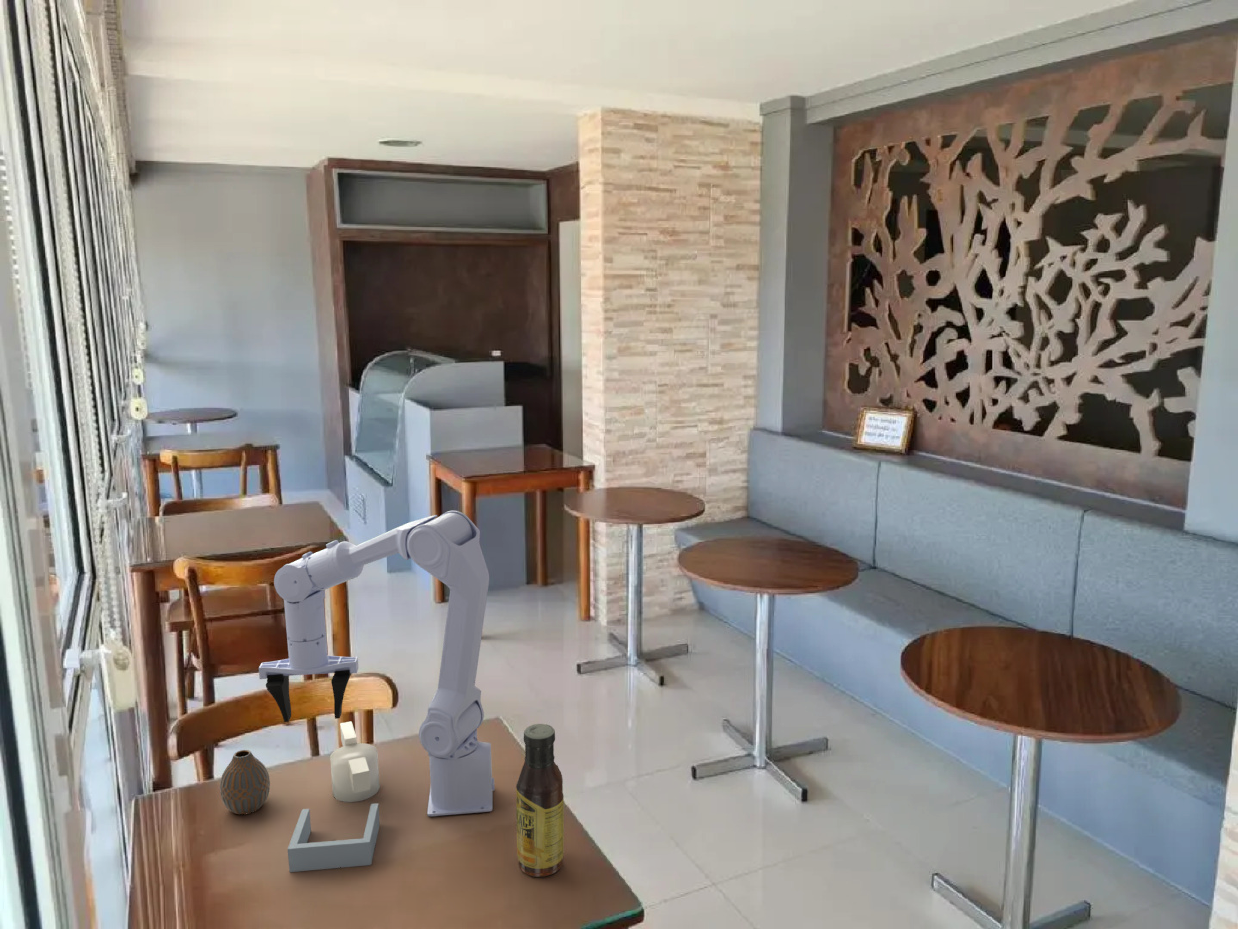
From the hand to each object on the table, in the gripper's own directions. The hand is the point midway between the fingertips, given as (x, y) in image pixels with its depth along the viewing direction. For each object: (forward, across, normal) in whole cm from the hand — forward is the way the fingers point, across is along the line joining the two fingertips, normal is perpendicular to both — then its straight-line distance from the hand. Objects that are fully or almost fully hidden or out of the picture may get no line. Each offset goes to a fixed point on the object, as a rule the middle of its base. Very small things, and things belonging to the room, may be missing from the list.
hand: (313, 717), depth 145 cm
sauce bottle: (+11, -34, +28) cm, 45 cm away
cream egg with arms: (+10, -7, +4) cm, 13 cm away
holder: (+10, -6, +19) cm, 22 cm away
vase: (+11, +9, +7) cm, 16 cm away
